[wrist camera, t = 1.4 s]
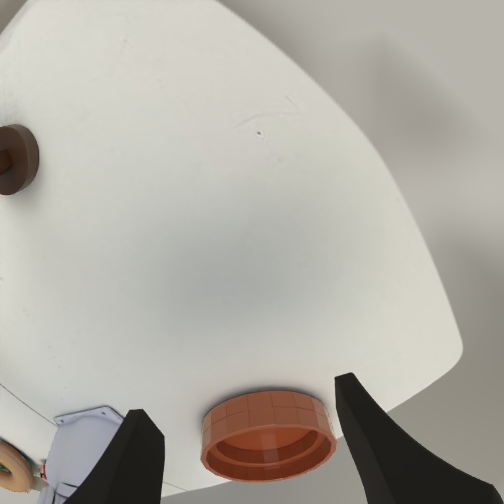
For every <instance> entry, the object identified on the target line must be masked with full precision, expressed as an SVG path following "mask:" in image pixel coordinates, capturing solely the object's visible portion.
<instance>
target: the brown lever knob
mask: <svg viewBox="0 0 504 504" xmlns="http://www.w3.org/2000/svg"><path fill="white" fill-rule="evenodd" d="M38 162H39V153H38V146H37V143H36V140H35V138H34V136H33V135H32V133H31V132H30V131H29V130H28V129H27V128H25V127H24V126H22V125H17V124H14V125H8V126H3V127H0V194H1V195H12V194H14V193H16V192H18V191H20V190H22V189H24V188H26V187H27V186H28V185H29V184H30V183H31V182H32V180H33V178H34V177H35V174H36V172H37V168H38Z"/></svg>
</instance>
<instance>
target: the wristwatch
mask: <svg viewBox="0 0 504 504" xmlns="http://www.w3.org/2000/svg"><path fill="white" fill-rule="evenodd" d="M47 486H49V484H48V483H47V482H45V481H44V480H42V479H41V478H39V477H36V476H34V482H33V485H32V487H31V488H30V489H29V490H27V491H25V492H27V493H29V492H30V490H31V489H33V490H37V491H41V490H42V488H44V487H47Z"/></svg>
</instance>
